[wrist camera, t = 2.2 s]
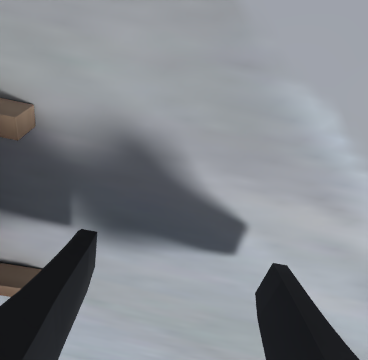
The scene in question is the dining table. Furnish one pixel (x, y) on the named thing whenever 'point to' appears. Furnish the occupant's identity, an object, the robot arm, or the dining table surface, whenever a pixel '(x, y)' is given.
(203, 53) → the dining table surface
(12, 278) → the brown parallel rails
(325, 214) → the dining table surface
